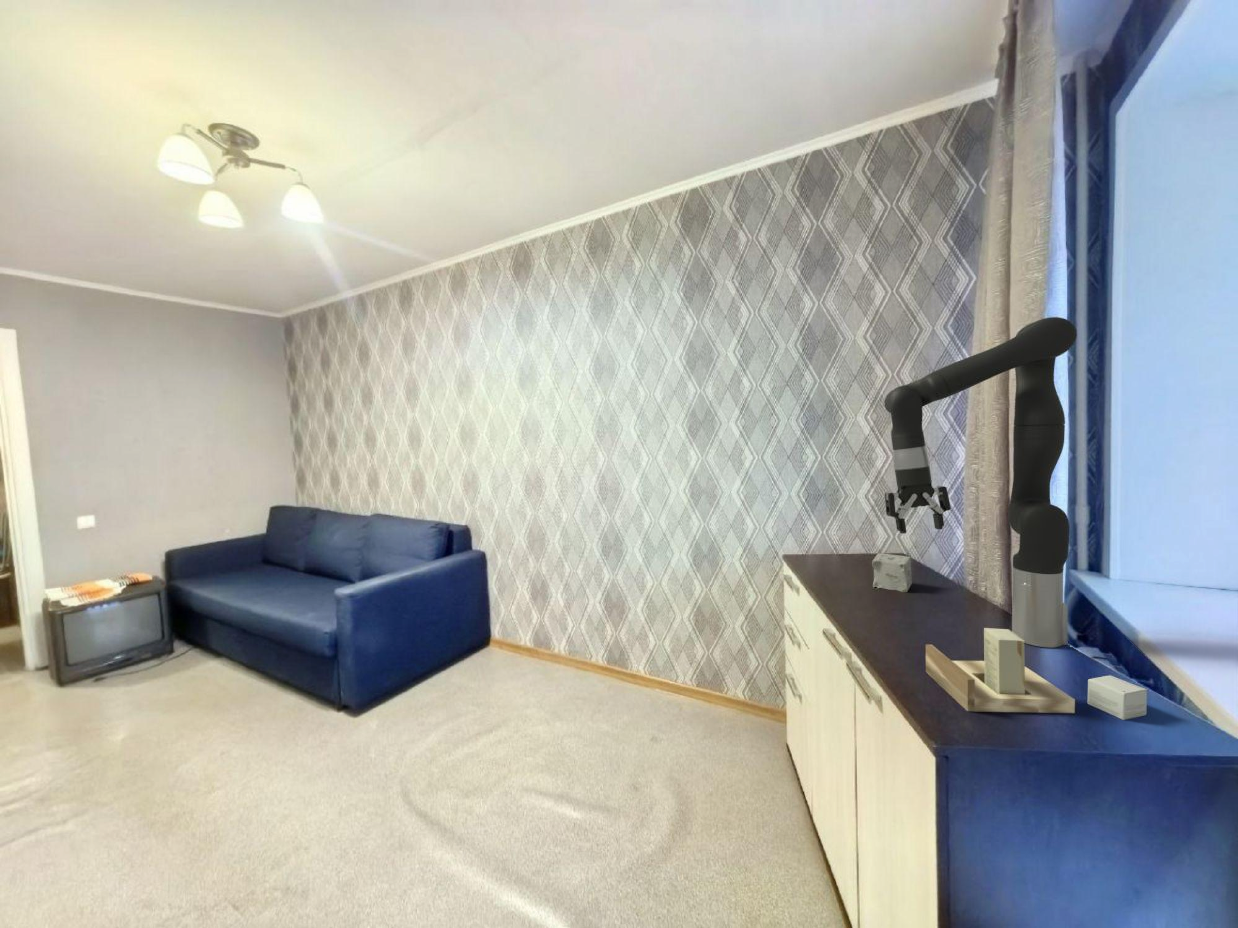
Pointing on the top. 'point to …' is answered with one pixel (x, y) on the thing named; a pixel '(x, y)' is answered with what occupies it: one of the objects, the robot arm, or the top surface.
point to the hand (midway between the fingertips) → (920, 531)
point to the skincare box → (1004, 661)
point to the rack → (976, 696)
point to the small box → (1117, 697)
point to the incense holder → (892, 572)
